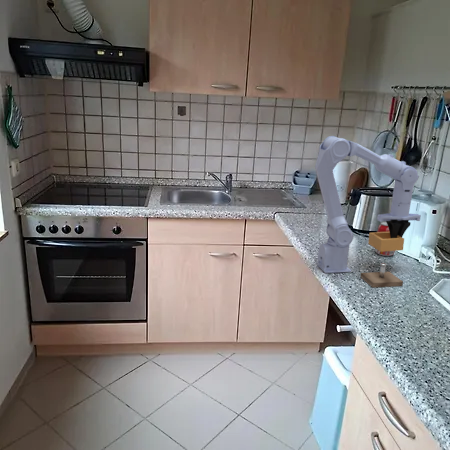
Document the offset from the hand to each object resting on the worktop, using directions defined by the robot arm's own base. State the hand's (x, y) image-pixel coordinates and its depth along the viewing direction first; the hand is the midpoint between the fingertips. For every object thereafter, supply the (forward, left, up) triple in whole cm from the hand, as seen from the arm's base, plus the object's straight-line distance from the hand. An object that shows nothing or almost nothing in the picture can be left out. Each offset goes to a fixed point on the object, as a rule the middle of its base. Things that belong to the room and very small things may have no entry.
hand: (395, 241), depth 140 cm
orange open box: (-3, 0, -2) cm, 4 cm away
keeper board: (-9, -10, -10) cm, 17 cm away
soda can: (+6, +14, -10) cm, 18 cm away
